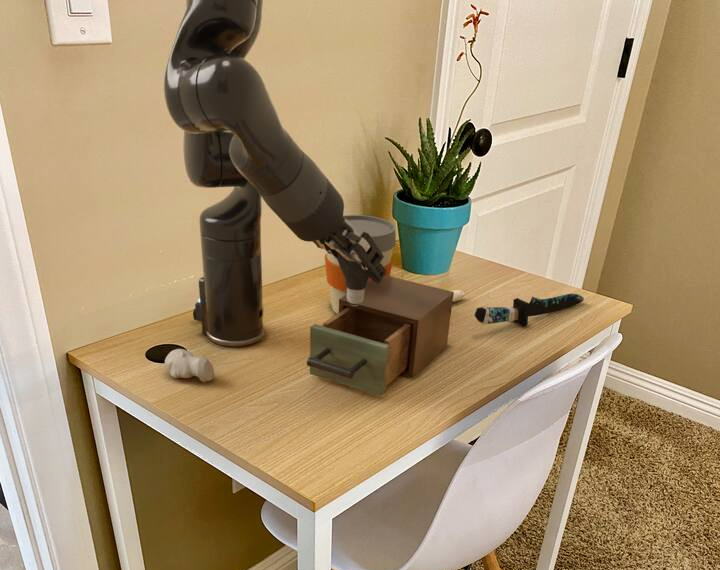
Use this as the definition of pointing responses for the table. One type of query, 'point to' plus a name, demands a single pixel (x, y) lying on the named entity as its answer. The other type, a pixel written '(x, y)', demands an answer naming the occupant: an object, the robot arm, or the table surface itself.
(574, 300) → the knife
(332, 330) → the drawer
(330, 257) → the reusable coffee cup
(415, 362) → the cabinet
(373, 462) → the table surface
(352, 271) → the light bulb
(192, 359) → the pale two-lobed sculpture
